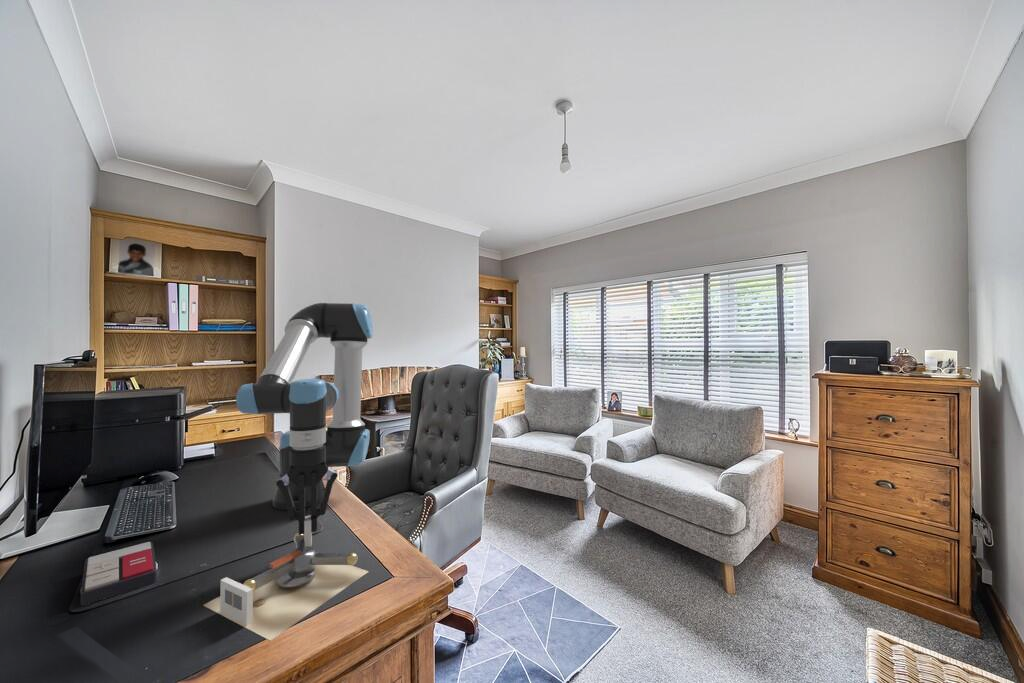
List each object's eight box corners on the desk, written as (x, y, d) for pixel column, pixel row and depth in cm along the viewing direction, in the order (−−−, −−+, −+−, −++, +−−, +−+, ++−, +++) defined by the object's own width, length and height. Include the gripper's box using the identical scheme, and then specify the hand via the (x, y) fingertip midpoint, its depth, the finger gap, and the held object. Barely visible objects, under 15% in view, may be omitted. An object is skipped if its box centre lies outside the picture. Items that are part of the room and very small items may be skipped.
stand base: (306, 555, 94) (306, 548, 94) (368, 578, 86) (368, 569, 86) (202, 613, 74) (203, 603, 74) (270, 649, 66) (270, 638, 66)
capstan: (246, 562, 88) (247, 537, 88) (345, 539, 99) (345, 516, 99) (241, 610, 72) (241, 580, 72) (358, 577, 83) (358, 550, 83)
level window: (226, 608, 73) (226, 576, 73) (253, 622, 70) (253, 588, 70) (219, 612, 72) (219, 580, 72) (246, 626, 69) (246, 592, 69)
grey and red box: (80, 590, 75) (85, 555, 86) (80, 611, 76) (85, 574, 86) (157, 567, 83) (152, 538, 94) (156, 587, 83) (152, 555, 94)
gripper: (273, 453, 85) (273, 560, 85) (338, 446, 90) (338, 547, 91) (277, 444, 92) (278, 544, 92) (338, 439, 97) (338, 532, 97)
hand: (308, 545), depth 91 cm, fingers closed
